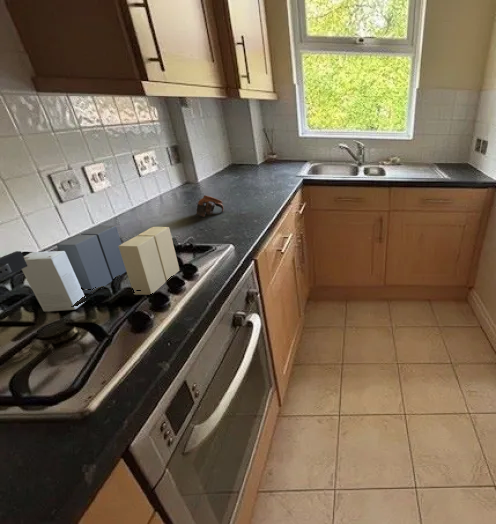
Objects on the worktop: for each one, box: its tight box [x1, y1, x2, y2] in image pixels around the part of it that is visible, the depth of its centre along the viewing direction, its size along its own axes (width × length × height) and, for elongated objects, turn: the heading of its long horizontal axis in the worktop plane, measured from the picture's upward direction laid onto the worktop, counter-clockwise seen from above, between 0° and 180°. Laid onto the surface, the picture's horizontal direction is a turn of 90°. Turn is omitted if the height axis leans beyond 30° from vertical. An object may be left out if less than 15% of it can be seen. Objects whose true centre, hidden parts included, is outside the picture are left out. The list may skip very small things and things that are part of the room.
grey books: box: [56, 224, 127, 294], centre depth 78 cm, size 4×12×12 cm, turn 0°
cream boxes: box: [118, 226, 180, 296], centre depth 78 cm, size 4×12×12 cm, turn 0°
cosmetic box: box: [20, 250, 85, 313], centre depth 68 cm, size 6×4×12 cm
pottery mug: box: [196, 195, 224, 218], centre depth 130 cm, size 12×10×8 cm
